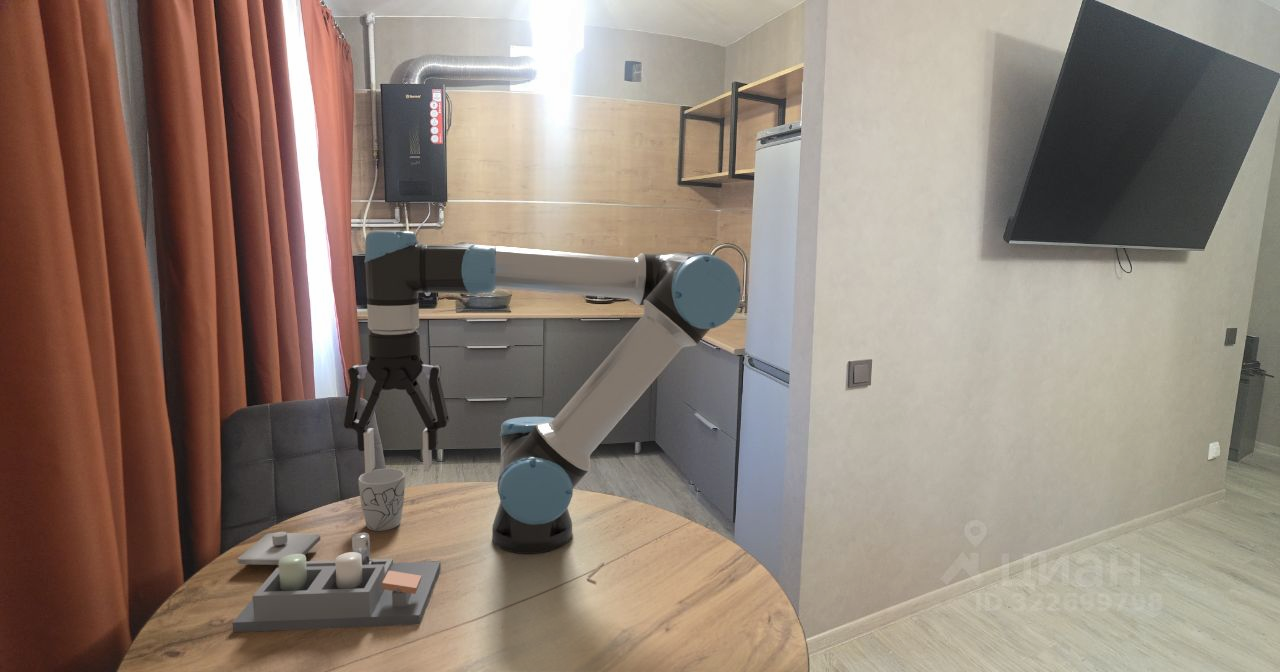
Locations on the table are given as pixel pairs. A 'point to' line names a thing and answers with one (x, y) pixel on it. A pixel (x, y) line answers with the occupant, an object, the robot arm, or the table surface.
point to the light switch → (278, 547)
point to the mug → (382, 498)
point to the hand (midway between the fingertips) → (399, 468)
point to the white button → (349, 570)
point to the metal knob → (362, 547)
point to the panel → (339, 599)
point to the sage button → (292, 572)
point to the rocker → (401, 582)
